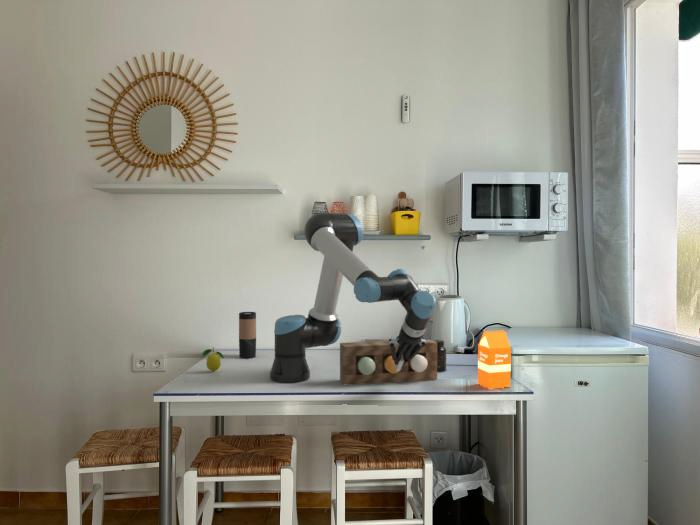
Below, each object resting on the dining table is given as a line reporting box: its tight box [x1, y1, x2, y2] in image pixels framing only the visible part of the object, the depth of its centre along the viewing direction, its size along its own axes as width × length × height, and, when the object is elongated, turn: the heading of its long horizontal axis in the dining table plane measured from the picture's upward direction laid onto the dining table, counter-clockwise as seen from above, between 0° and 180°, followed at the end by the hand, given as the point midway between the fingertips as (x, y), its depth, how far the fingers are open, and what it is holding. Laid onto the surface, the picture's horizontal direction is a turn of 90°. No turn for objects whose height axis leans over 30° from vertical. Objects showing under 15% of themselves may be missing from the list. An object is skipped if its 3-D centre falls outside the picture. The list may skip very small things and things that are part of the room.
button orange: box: [384, 355, 399, 374], centre depth 188 cm, size 6×3×6 cm, turn 103°
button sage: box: [357, 357, 375, 375], centre depth 186 cm, size 6×3×6 cm, turn 103°
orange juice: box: [477, 330, 512, 390], centre depth 186 cm, size 8×9×20 cm
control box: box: [339, 339, 438, 385], centre depth 193 cm, size 36×7×14 cm, turn 103°
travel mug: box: [238, 311, 257, 360], centre depth 231 cm, size 8×8×20 cm
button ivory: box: [410, 354, 428, 372], centre depth 191 cm, size 6×3×6 cm, turn 103°
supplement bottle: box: [432, 339, 447, 373], centre depth 209 cm, size 7×7×12 cm
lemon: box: [201, 346, 225, 373], centre depth 204 cm, size 7×6×10 cm
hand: (397, 367), depth 183 cm, fingers closed
